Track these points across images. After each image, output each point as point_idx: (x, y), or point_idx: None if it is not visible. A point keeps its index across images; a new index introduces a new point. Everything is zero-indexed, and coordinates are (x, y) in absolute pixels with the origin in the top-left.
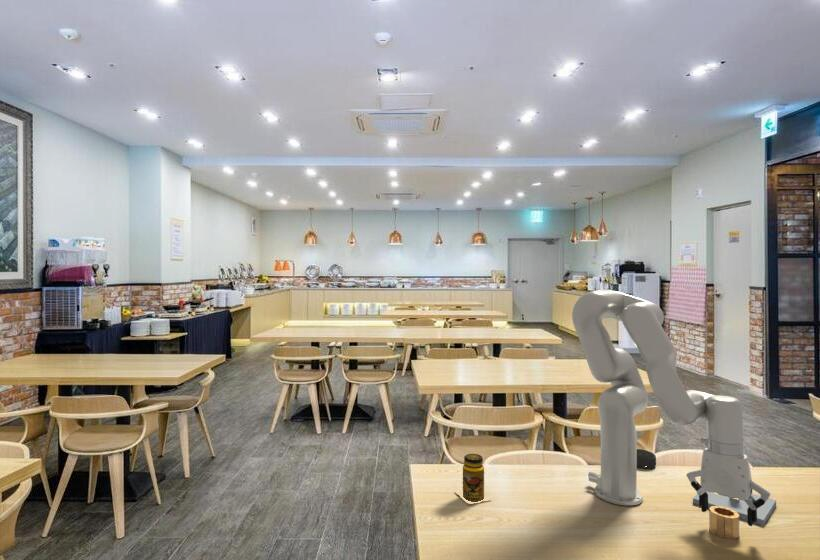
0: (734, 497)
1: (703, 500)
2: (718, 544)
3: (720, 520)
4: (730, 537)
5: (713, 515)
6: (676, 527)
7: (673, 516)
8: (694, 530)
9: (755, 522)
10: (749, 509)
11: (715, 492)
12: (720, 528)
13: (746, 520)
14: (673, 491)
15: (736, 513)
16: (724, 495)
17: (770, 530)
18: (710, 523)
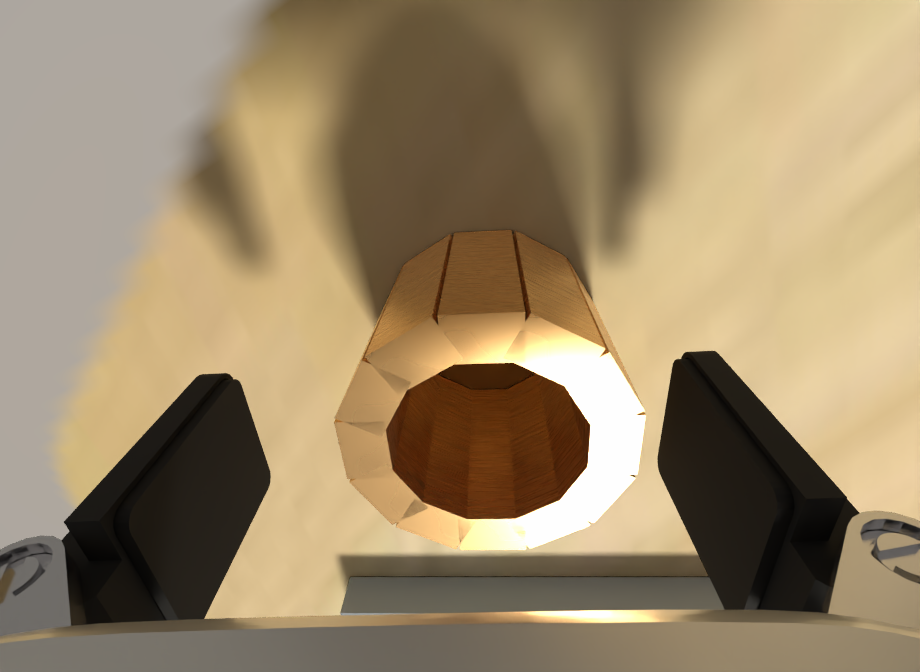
0: (128, 643)
1: (764, 447)
2: (447, 39)
3: (484, 289)
4: (413, 262)
5: (571, 318)
6: (877, 57)
7: (904, 288)
8: (697, 155)
9: (390, 582)
10: (82, 521)
11: (627, 632)
12: (484, 256)
13: (438, 577)
14: None
15: (384, 498)
16: (392, 621)
17: (305, 554)
18: (588, 298)
